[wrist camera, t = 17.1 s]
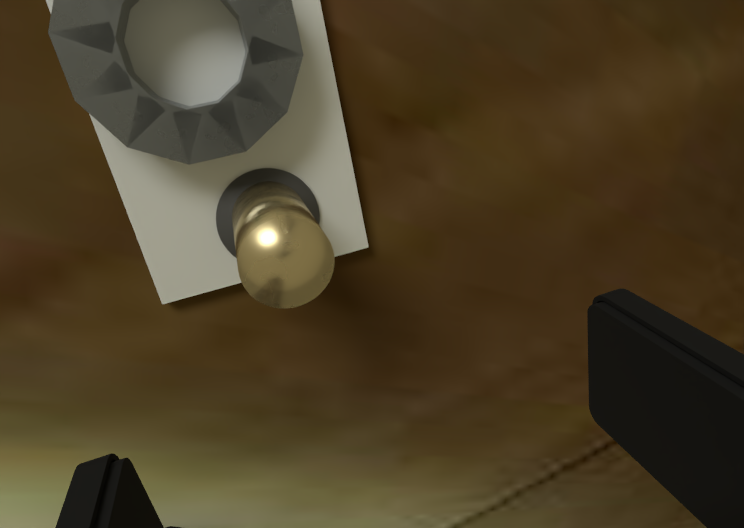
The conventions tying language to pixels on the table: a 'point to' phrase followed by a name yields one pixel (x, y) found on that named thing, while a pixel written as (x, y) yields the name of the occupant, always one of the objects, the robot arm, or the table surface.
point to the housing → (165, 117)
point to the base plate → (234, 172)
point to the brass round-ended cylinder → (280, 246)
